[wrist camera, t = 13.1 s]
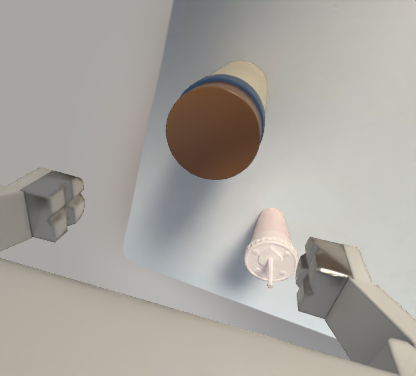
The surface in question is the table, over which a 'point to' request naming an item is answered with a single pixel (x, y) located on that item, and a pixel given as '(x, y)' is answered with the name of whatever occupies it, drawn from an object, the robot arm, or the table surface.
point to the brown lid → (214, 130)
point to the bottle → (242, 83)
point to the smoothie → (271, 249)
